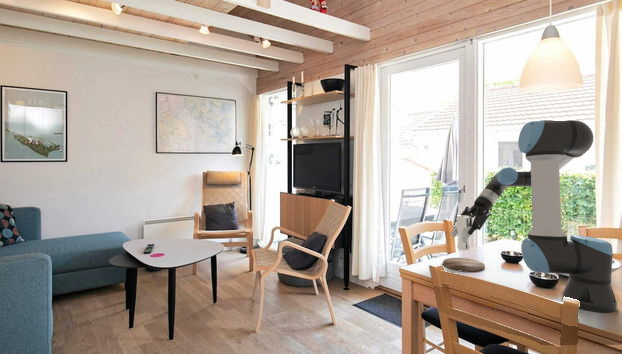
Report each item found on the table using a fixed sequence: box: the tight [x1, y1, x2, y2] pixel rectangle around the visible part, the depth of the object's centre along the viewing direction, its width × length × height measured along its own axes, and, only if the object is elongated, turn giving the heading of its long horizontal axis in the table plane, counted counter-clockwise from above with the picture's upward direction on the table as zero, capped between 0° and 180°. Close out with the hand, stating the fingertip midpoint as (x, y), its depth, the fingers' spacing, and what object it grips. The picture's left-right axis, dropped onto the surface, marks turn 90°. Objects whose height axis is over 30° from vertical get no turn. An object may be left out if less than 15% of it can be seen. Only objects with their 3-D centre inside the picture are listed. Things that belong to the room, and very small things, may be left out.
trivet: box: [442, 257, 486, 273], centre depth 171 cm, size 18×18×1 cm
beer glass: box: [455, 214, 473, 251], centre depth 170 cm, size 7×7×15 cm
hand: (457, 237), depth 169 cm, fingers closed on beer glass, 7 cm apart
